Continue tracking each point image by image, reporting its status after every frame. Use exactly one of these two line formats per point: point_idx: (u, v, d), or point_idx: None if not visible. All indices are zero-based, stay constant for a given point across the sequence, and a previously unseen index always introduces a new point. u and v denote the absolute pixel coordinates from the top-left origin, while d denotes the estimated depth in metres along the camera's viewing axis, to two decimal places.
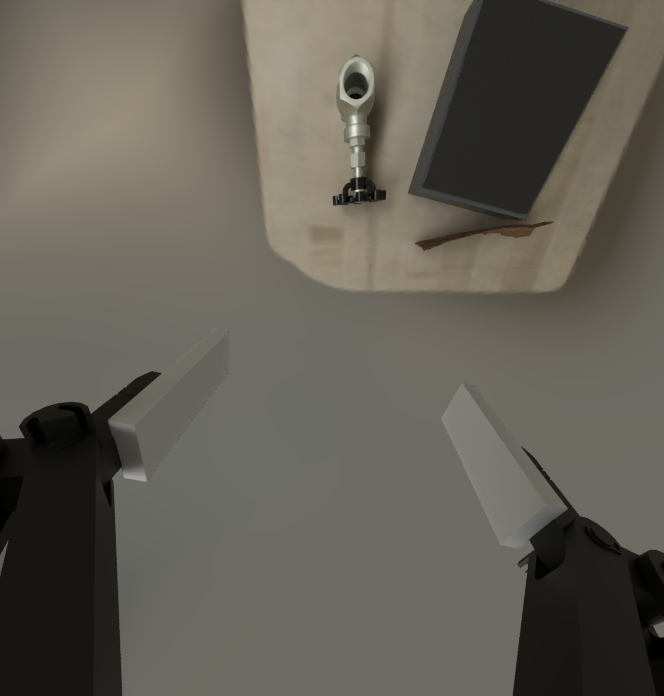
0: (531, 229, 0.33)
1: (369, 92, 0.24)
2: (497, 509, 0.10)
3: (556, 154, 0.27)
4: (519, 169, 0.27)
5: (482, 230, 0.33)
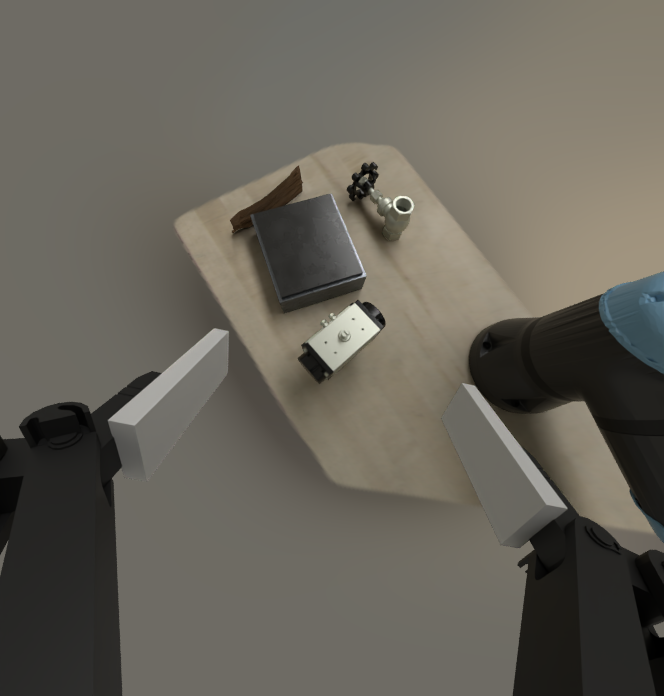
0: (234, 230, 0.43)
1: (394, 204, 0.39)
2: (497, 509, 0.10)
3: (265, 243, 0.38)
4: (280, 227, 0.39)
5: (267, 208, 0.43)
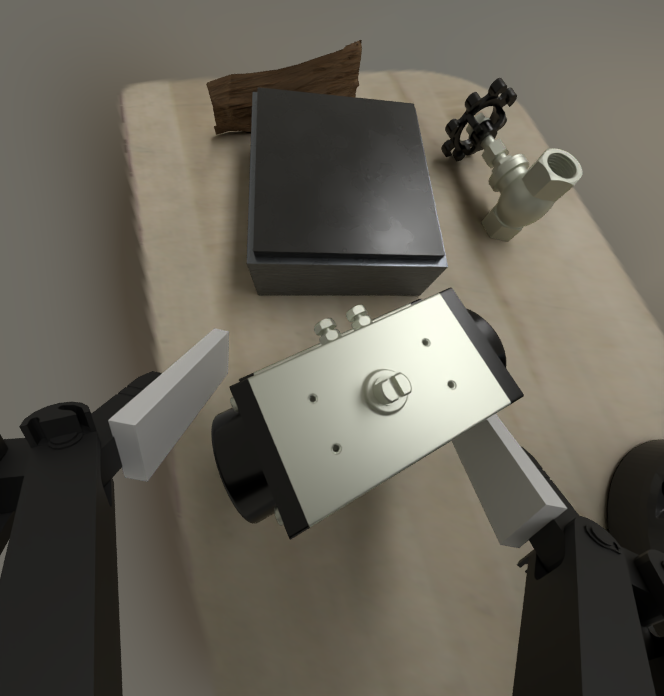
0: (218, 125, 0.23)
1: (544, 159, 0.19)
2: (497, 509, 0.10)
3: (259, 142, 0.18)
4: (301, 125, 0.19)
5: None
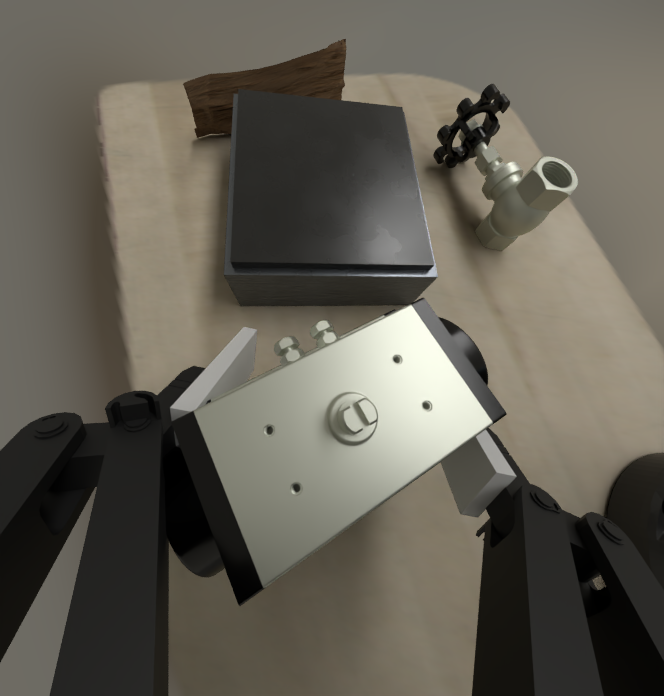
0: (198, 127, 0.22)
1: (539, 167, 0.18)
2: (459, 482, 0.10)
3: (239, 146, 0.17)
4: (283, 128, 0.18)
5: None
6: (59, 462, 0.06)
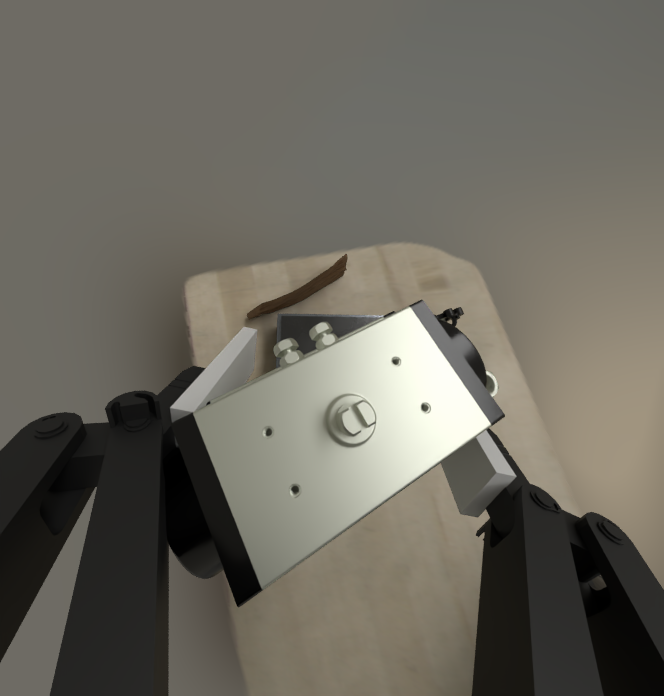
0: (250, 318, 0.33)
1: None
2: (459, 482, 0.10)
3: None
4: (309, 345, 0.29)
5: (297, 296, 0.33)
6: (59, 462, 0.06)
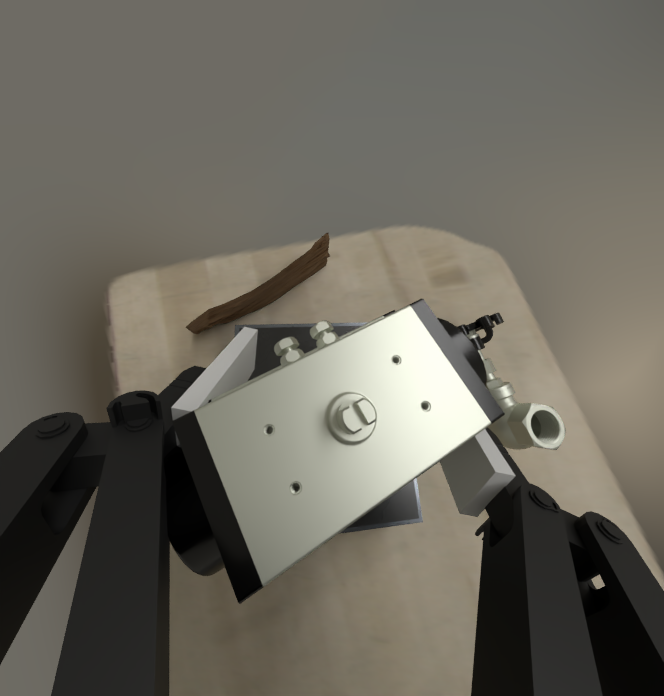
0: (199, 331, 0.23)
1: (528, 420, 0.20)
2: (458, 481, 0.10)
3: None
4: None
5: (264, 297, 0.24)
6: (60, 462, 0.06)
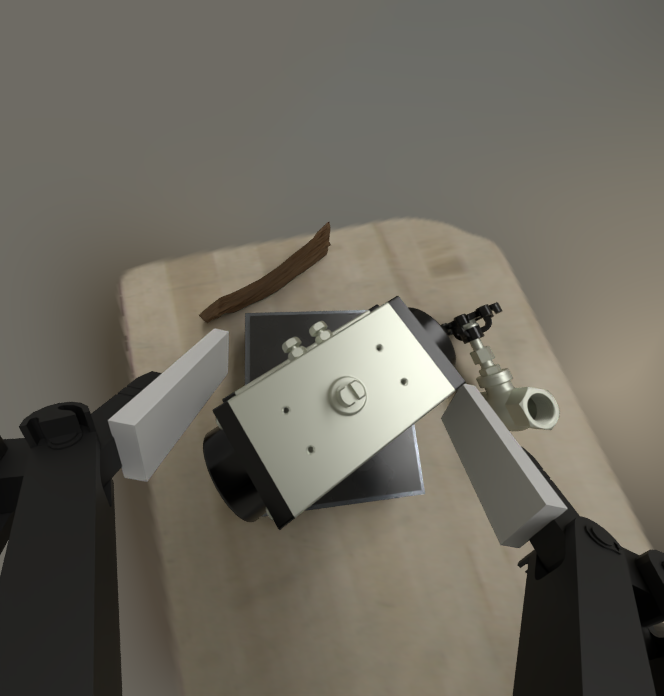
0: (209, 320, 0.24)
1: (524, 403, 0.21)
2: (497, 509, 0.10)
3: None
4: None
5: (270, 285, 0.25)
6: None
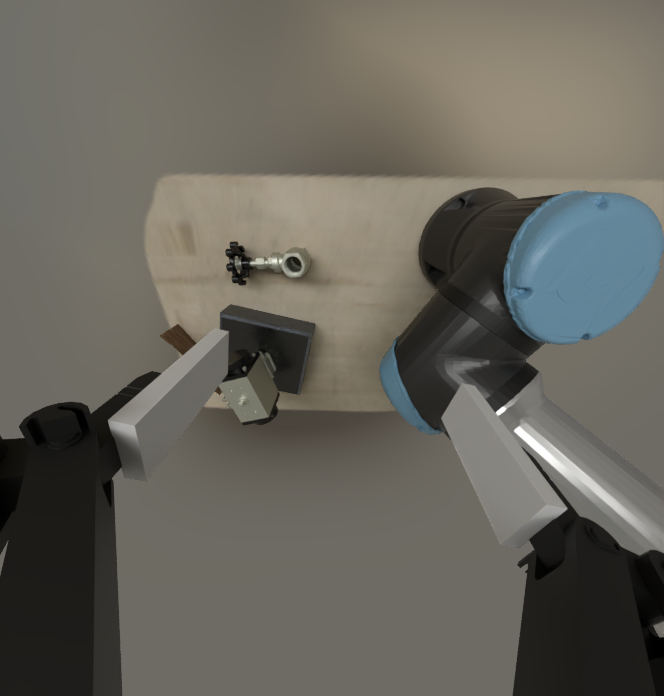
0: None
1: (288, 274, 0.36)
2: (497, 509, 0.10)
3: None
4: None
5: None
6: None
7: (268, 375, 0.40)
